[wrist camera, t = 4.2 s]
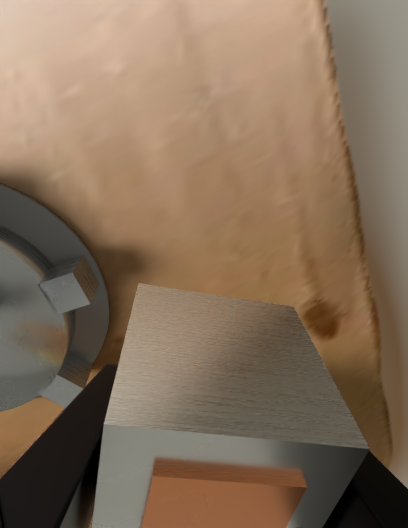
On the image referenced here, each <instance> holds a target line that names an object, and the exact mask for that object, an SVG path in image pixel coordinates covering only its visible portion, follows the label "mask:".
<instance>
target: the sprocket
mask: <svg viewBox="0 0 408 528" xmlns="http://www.w3.org/2000/svg"><path fill="white" fill-rule="evenodd" d="M98 286H99V282H98V280H97V278H96V276H95V275H94V273H93V271H92V269H91V267H90V265H89V264H88V262H87V260H86V258H85V256H84V255H81V256H79V257H76V258H73V259H70V260H67V261H64V262H61V263H58V264H55V265H53V264H52V263H51V261H50V260H49V259H48V258H47V257H46V256H45V255H44V254H43V253H42V252H41V251H39V250H38V249H37V248H36V247H35V246H34V245H32V244H31V243H30V242H28V241H27V240H25V239H24V238H23V237H21V236H19V235H18V234H16V233H14V232H12V231H11V230H9V229H7V228H5V227H2V226H0V411H4V410H8V409H12V408H15V407H17V406H20V405H23V404H25V403H26V402H28V401H30V400H32V399H34V398H35V397H37V396H38V395H41V396H43V397H45V398H47V399H49V400H51V401H53V402H55V403H57V404H59V405H61V406H63V407H65V408H66V407H67V406H68V405H69V404H70V403H71V401H72V400H73V399H74V398H75V397H76V396H77V395H78V394H79V393H80V392H81V391H82V390H83V389H84V388H85V386H86V383H87V380H88V377H89V374H90V371H91V368H92V366H93V364H92V363H91V362H89V361H87V360H85V359H83V358H82V357H80V356H78V355H76V354H75V353H73V352H71V351H69V348H70V346H71V344H72V341H73V338H74V335H75V328H76V312H75V309H76V308H79V307H83V306H86V305H89V304H91V301H92V299H93V297H94V295H95V293H96V290H97V288H98Z"/></svg>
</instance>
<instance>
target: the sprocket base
mask: <svg viewBox="0 0 408 528" xmlns="http://www.w3.org/2000/svg"><path fill="white" fill-rule="evenodd" d="M0 226H2V227H5V228H7V229H9V230H11V231H12V232H14V233H16V234H18V235H19V236H21V237H23V238H24V239H25V240H27V241H28V242H30V243H31V244H32V245H34V246H35V247H36V248H37V249H38V250H39V251H41V252H42V253H43V254H44V255H45V256H46V257H47V258H48V259H49V260H50V261H51V263H52V264H53V265H55V264H58V263H61V262H64V261H67V260H70V259H73V258H76V257H79V256H81V255H84V256H85V258H86V260H87V262H88V264H89V265H90V267H91V269H92V271H93V273H94V275H95V276H96V278H97V280H98V282H99V286H98V288H97V290H96V293H95V295H94V297H93V299H92V301H91V304H89V305H86V306H83V307H79V308H76V309H75V312H76V328H75V335H74V338H73V341H72V344H71V346H70V348H69V351H71V352H73V353H75V354H76V355H78V356H80V357H82V358H83V359H85V360H87V361H89V362H91V363H93V362H94V361H95V359H96V357H97V356H98V354H99V352H100V350H101V349H102V346H103V343H104V340H105V338H106V335H107V331H108V326H109V320H110V303H109V296H108V290H107V287H106V284H105V280H104V277H103V275H102V273H101V270H100V268H99V266H98V264H97V262H96V260H95V258H94V257H93V255H92V254H91V252H90V250H89V249H88V247H87V246H86V245H85V244H84V242H83V241H82V240H81V239H80V237H79V236H78V235H77V234H76V233H75V232H74V231H73V230H72V229H71V228H70V227H69V226H68V225H67V224H66V223H65V222H64V221H63V220H62V219H61V218H60V217H58V216H57V215H56V214H54V213H53V212H52V211H51V210H49V209H48V208H47V207H45V206H44V205H42V204H40V203H39V202H37V201H36V200H34V199H32V198H31V197H29V196H27V195H25V194H23V193H21V192H19V191H17V190H15V189H13V188H11V187H9V186H6V185H3V184H0ZM37 397H41V395H38V396H37ZM37 397H35V398H37Z"/></svg>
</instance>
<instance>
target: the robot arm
mask: <svg viewBox="0 0 408 528" xmlns="http://www.w3.org/2000/svg"><path fill="white" fill-rule="evenodd" d="M117 368H118V364H107V365H105V366H104V367H103V369H102V370H101V371H100V372H99V373H98V374H97V375H96V376H95V377H94V378H93V379H92V380H91V381H90V382H89V383H88V384H87V386H86V387H85V388H84V389H83V390H82V391H81V392H80V393H79V394H78V395H77V396H76V397H75V398H74V399H73V400H72V401H71V403H70V404H69V405H68V406H67V407H66V408H65V409H64V410H63V411H62V412H61V413H60V414H59V415H58V416H57V417H56V418H55V420H54V421H53V422H52V423H51V424H50V425H49V426H48V427H47V428H46V429H45V430H44V431H43V432H42V433H41V434H40V435H39V436H38V438H37V439H36V440H35V441H34V442H33V443H32V444H31V445H30V446H29V447H28V448H27V449H26V450H25V451H24V452H23V453H22V455H21V456H20V457H19V458H18V459H17V460H16V461H15V462H14V463H13V464H12V465H11V466H10V467H9V468H8V469H7V470H6V472H5V473H4V474H3V475H2V476H1V477H0V528H88V527H89V524H90V521H91V518H92V515H93V511H94V504H95V495H96V487H97V478H98V469H99V461H100V452H101V443H102V435H103V426H104V421H105V417H106V413H107V409H108V405H109V401H110V397H111V392H112V388H113V384H114V380H115V376H116V372H117ZM322 528H408V489H407V488H406V487H405V486H404V485H403V484H402V483H401V482H400V481H399V480H398V479H397V478H396V477H395V476H394V475H393V474H392V473H391V472H390V471H389V470H388V469H387V468H386V467H385V466H384V465H383V464H382V463H381V462H380V461H379V460H378V459H377V458H376V457H375V456H374V455H373V454H372V453H371V452H370V451H369V452H368V453H367V455H366V456H365V458H364V460H363V461H362V463H361V465H360V466H359V468H358V470H357V471H356V473H355V475H354V476H353V478H352V480H351V481H350V483H349V484H348V486H347V488H346V489H345V491H344V493H343V494H342V496H341V498H340V499H339V501H338V503H337V504H336V506H335V508H334V509H333V511H332V512H331V514H330V516H329V517H328V519H327V521H326V522H325V524H324V526H323V527H322Z"/></svg>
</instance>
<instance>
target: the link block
mask: <svg viewBox="0 0 408 528" xmlns="http://www.w3.org/2000/svg"><path fill="white" fill-rule="evenodd" d="M369 450H370V448H369V446H368V444H367V442H366V440H365V438H364V437H363V435H362V433H361V431H360V429H359V427H358V425H357V424H356V422H355V420H354V418H353V416H352V414H351V412H350V411H349V409H348V407H347V405H346V403H345V401H344V399H343V398H342V396H341V394H340V392H339V390H338V388H337V386H336V385H335V383H334V381H333V379H332V377H331V375H330V373H329V372H328V370H327V368H326V366H325V364H324V362H323V360H322V359H321V357H320V355H319V353H318V351H317V349H316V347H315V345H314V344H313V342H312V340H311V338H310V336H309V334H308V332H307V331H306V329H305V327H304V325H303V323H302V321H301V319H300V318H299V316H298V314H297V312H296V310H295V308H294V307H293V306H286V305H280V304H273V303H266V302H260V301H253V300H246V299H240V298H233V297H226V296H220V295H213V294H207V293H200V292H193V291H187V290H180V289H173V288H167V287H160V286H153V285H147V284H140V283H138V287H137V291H136V295H135V299H134V303H133V307H132V311H131V315H130V319H129V323H128V327H127V332H126V336H125V340H124V344H123V348H122V352H121V356H120V360H119V364H118V368H117V372H116V376H115V380H114V384H113V388H112V392H111V397H110V401H109V405H108V409H107V413H106V417H105V421H104V426H103V435H102V443H101V452H100V461H99V469H98V478H97V487H96V495H95V504H94V513H93V521H92V528H322V527H323V526H324V524H325V522H326V521H327V519H328V517H329V516H330V514H331V512H332V511H333V509H334V508H335V506H336V504H337V503H338V501H339V499H340V498H341V496H342V494H343V493H344V491H345V489H346V488H347V486H348V484H349V483H350V481H351V480H352V478H353V476H354V475H355V473H356V471H357V470H358V468H359V466H360V465H361V463H362V461H363V460H364V458H365V456H366V455H367V453H368V452H369Z"/></svg>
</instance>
